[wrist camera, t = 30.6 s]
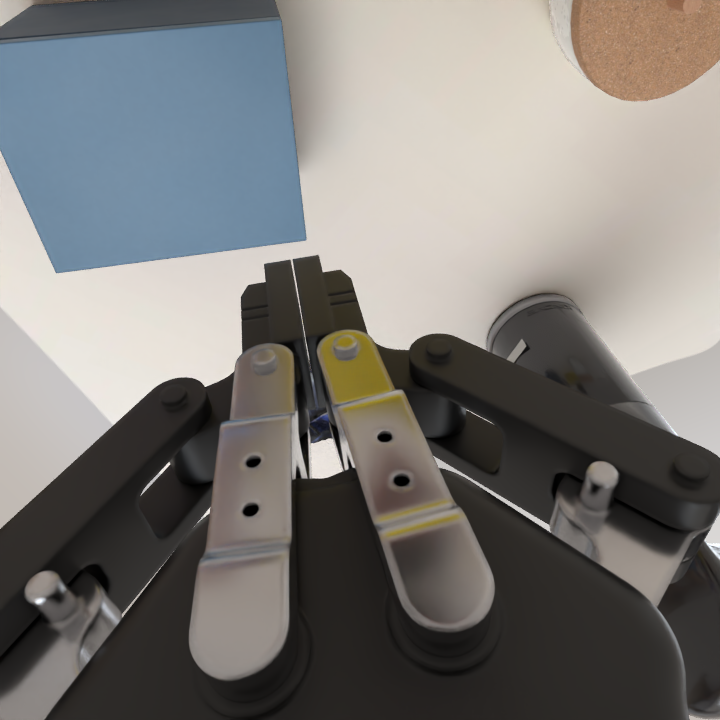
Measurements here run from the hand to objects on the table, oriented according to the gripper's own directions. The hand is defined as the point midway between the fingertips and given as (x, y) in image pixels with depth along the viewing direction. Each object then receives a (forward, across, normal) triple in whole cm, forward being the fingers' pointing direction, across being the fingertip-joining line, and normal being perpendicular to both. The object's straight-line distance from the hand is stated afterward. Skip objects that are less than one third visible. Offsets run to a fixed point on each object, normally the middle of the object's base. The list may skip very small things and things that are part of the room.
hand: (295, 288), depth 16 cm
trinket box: (+27, -23, -2) cm, 35 cm away
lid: (+18, +6, +2) cm, 19 cm away
